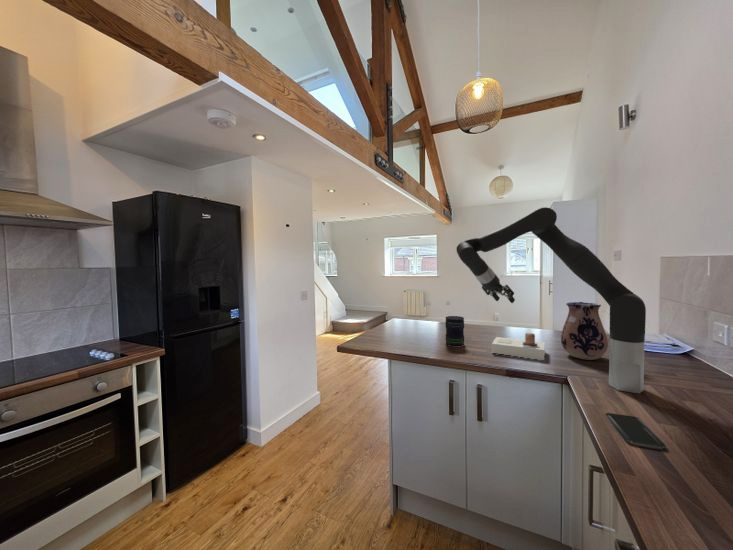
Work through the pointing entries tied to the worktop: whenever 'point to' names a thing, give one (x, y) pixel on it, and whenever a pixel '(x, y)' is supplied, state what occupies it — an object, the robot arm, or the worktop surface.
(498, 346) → the socket block
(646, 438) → the phone
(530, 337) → the peg
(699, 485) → the worktop surface
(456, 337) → the storage jar
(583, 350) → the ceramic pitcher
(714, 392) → the worktop surface
